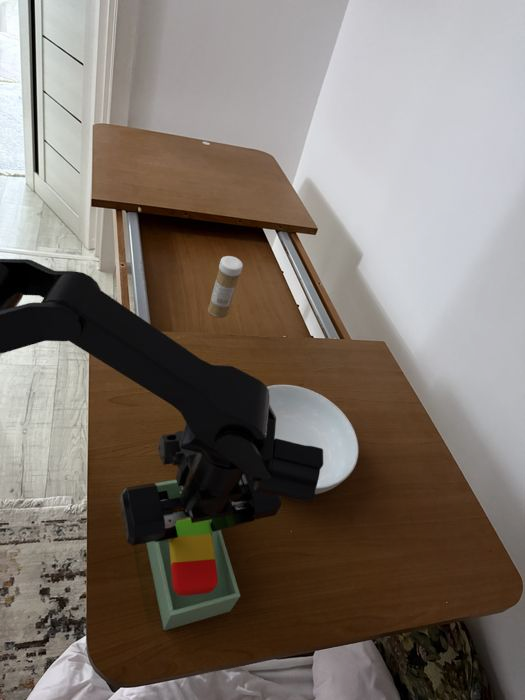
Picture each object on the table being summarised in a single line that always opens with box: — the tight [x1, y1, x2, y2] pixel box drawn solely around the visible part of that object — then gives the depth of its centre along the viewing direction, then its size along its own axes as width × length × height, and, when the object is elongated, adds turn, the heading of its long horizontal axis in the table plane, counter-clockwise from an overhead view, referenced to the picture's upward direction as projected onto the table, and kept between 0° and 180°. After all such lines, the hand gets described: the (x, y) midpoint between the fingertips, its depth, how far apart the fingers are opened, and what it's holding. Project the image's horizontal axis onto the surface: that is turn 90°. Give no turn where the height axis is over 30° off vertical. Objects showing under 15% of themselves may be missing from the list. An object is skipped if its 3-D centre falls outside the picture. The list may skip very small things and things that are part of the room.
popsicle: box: [169, 488, 218, 596], centre depth 66 cm, size 6×15×2 cm, turn 12°
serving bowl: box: [267, 384, 359, 495], centre depth 86 cm, size 21×21×7 cm
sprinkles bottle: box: [207, 255, 244, 319], centre depth 105 cm, size 5×5×13 cm
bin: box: [145, 479, 241, 632], centre depth 69 cm, size 18×9×6 cm, turn 20°
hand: (190, 533), depth 66 cm, fingers closed on popsicle, 6 cm apart
